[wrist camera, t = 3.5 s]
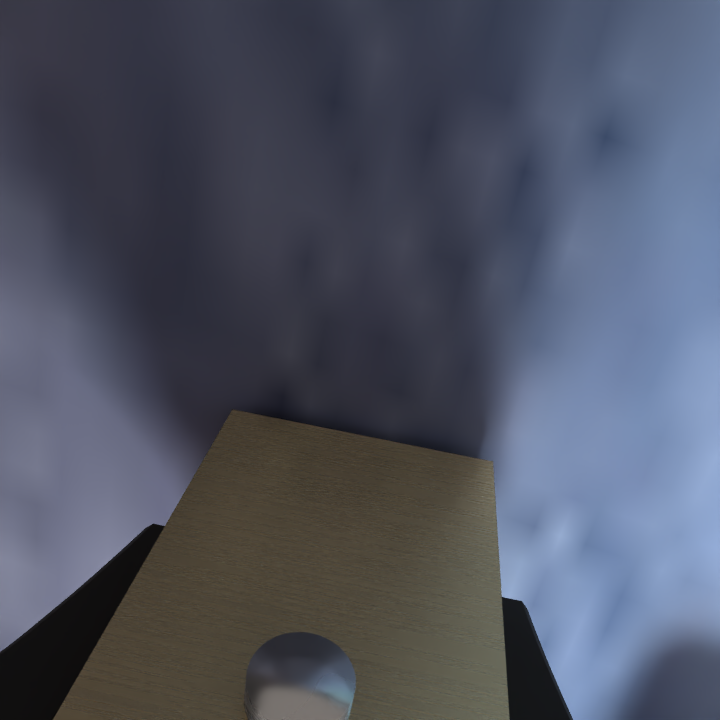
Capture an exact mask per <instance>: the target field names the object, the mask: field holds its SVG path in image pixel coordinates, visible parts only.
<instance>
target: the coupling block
mask: <svg viewBox="0 0 720 720" xmlns="http://www.w3.org/2000/svg"><path fill="white" fill-rule="evenodd" d="M53 720H510V719H509V703H508V688H507V673H506V657H505V642H504V626H503V611H502V595H501V580H500V564H499V549H498V533H497V518H496V502H495V487H494V471H493V461H488V460H483V459H478V458H473V457H468V456H463V455H458V454H453V453H448V452H443V451H438V450H433V449H428V448H423V447H418V446H413V445H408V444H403V443H398V442H393V441H388V440H383V439H378V438H373V437H368V436H363V435H358V434H353V433H348V432H343V431H338V430H333V429H328V428H323V427H318V426H313V425H308V424H303V423H298V422H293V421H288V420H283V419H278V418H273V417H268V416H263V415H258V414H253V413H248V412H243V411H238V410H233V409H232V411H231V413H230V415H229V416H228V418H227V420H226V422H225V423H224V425H223V427H222V428H221V430H220V432H219V434H218V435H217V437H216V439H215V441H214V442H213V444H212V446H211V447H210V449H209V451H208V453H207V454H206V456H205V458H204V460H203V461H202V463H201V465H200V466H199V468H198V470H197V472H196V473H195V475H194V477H193V479H192V480H191V482H190V484H189V485H188V487H187V489H186V491H185V492H184V494H183V496H182V498H181V499H180V501H179V503H178V504H177V506H176V508H175V510H174V511H173V513H172V515H171V517H170V518H169V520H168V522H167V523H166V525H165V527H164V529H163V530H162V532H161V534H160V536H159V537H158V539H157V541H156V542H155V544H154V546H153V548H152V549H151V551H150V553H149V555H148V556H147V558H146V560H145V561H144V563H143V565H142V567H141V568H140V570H139V572H138V574H137V575H136V577H135V579H134V581H133V582H132V584H131V586H130V587H129V589H128V591H127V593H126V594H125V596H124V598H123V600H122V601H121V603H120V605H119V606H118V608H117V610H116V612H115V613H114V615H113V617H112V619H111V620H110V622H109V624H108V625H107V627H106V629H105V631H104V632H103V634H102V636H101V638H100V639H99V641H98V643H97V644H96V646H95V648H94V650H93V651H92V653H91V655H90V657H89V658H88V660H87V662H86V663H85V665H84V667H83V669H82V670H81V672H80V674H79V676H78V677H77V679H76V681H75V682H74V684H73V686H72V688H71V689H70V691H69V693H68V695H67V696H66V698H65V700H64V701H63V703H62V705H61V707H60V708H59V710H58V712H57V714H56V715H55V717H54V719H53Z"/></svg>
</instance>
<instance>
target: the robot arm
mask: <svg viewBox="0 0 720 720" xmlns="http://www.w3.org/2000/svg"><path fill="white" fill-rule="evenodd" d="M164 527H165V526H161V525H157V524H152V525H150V526H149V527H147V528H145V529H144V530H143V531H142V532H141V533H140V534H139V535H138V536H137V537H135V538H134V539H133V540H132V541H131V542H130V543H129V544H128V545H127V546H126V547H125V548H123V549H122V550H121V551H120V552H119V553H118V554H117V555H116V556H115V557H114V558H112V559H111V560H110V561H109V562H108V563H107V564H106V565H105V566H104V567H102V568H101V569H100V570H99V571H98V572H97V573H96V574H94V575H93V576H92V577H91V578H90V579H89V580H88V581H86V582H85V583H84V584H83V585H82V586H81V587H80V588H78V589H77V590H76V591H75V592H74V593H73V594H71V595H70V596H69V597H68V598H67V599H65V600H64V601H63V602H62V603H61V604H59V605H58V606H57V607H56V608H55V609H53V610H52V611H51V612H50V613H49V614H47V615H46V616H45V617H44V618H43V619H41V620H40V621H39V622H38V623H36V624H35V625H34V626H33V627H32V628H30V629H29V630H28V631H27V632H26V633H24V634H23V635H22V636H21V637H19V638H18V639H17V640H15V641H14V642H13V643H12V644H10V645H9V646H8V647H6V648H5V649H4V650H2V651H1V652H0V720H53V719H54V717H55V715H56V714H57V712H58V710H59V708H60V707H61V705H62V703H63V701H64V700H65V698H66V696H67V695H68V693H69V691H70V689H71V688H72V686H73V684H74V682H75V681H76V679H77V677H78V676H79V674H80V672H81V670H82V669H83V667H84V665H85V663H86V662H87V660H88V658H89V657H90V655H91V653H92V651H93V650H94V648H95V646H96V644H97V643H98V641H99V639H100V638H101V636H102V634H103V632H104V631H105V629H106V627H107V625H108V624H109V622H110V620H111V619H112V617H113V615H114V613H115V612H116V610H117V608H118V606H119V605H120V603H121V601H122V600H123V598H124V596H125V594H126V593H127V591H128V589H129V587H130V586H131V584H132V582H133V581H134V579H135V577H136V575H137V574H138V572H139V570H140V568H141V567H142V565H143V563H144V561H145V560H146V558H147V556H148V555H149V553H150V551H151V549H152V548H153V546H154V544H155V542H156V541H157V539H158V537H159V536H160V534H161V532H162V530H163V529H164ZM502 611H503V626H504V642H505V657H506V673H507V688H508V703H509V719H510V720H573V718H572V716H571V714H570V712H569V710H568V707H567V705H566V703H565V701H564V698H563V696H562V694H561V692H560V689H559V687H558V685H557V682H556V680H555V678H554V675H553V673H552V671H551V668H550V666H549V664H548V661H547V659H546V656H545V654H544V651H543V649H542V646H541V644H540V641H539V639H538V636H537V634H536V631H535V628H534V626H533V623H532V621H531V618H530V615H529V612H528V610H527V608H526V607H525V605H524V604H523V602H522V601H518V600H513V599H508V598H504V597H502Z"/></svg>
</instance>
